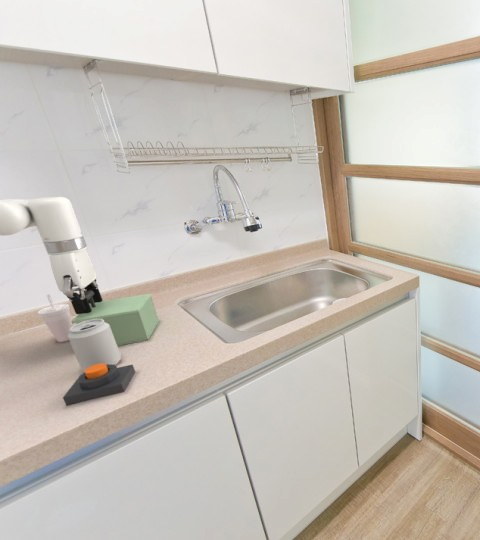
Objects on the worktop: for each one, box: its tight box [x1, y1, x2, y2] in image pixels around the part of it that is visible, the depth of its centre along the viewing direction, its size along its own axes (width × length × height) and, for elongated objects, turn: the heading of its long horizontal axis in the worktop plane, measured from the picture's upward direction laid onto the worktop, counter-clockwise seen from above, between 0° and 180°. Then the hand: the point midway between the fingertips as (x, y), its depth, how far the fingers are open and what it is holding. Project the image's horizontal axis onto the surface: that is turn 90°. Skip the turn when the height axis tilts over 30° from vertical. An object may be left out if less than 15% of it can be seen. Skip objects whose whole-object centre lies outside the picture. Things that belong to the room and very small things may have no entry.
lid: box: [71, 290, 152, 325], centre depth 93 cm, size 14×13×6 cm
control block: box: [62, 364, 136, 407], centre depth 74 cm, size 10×8×4 cm
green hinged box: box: [75, 296, 160, 347], centre depth 96 cm, size 14×13×9 cm
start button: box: [84, 363, 108, 379], centre depth 73 cm, size 4×4×2 cm
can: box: [68, 319, 122, 373], centre depth 81 cm, size 8×8×12 cm
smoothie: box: [37, 294, 73, 343], centre depth 94 cm, size 6×6×14 cm
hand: (90, 307), depth 92 cm, fingers open, 6 cm apart
